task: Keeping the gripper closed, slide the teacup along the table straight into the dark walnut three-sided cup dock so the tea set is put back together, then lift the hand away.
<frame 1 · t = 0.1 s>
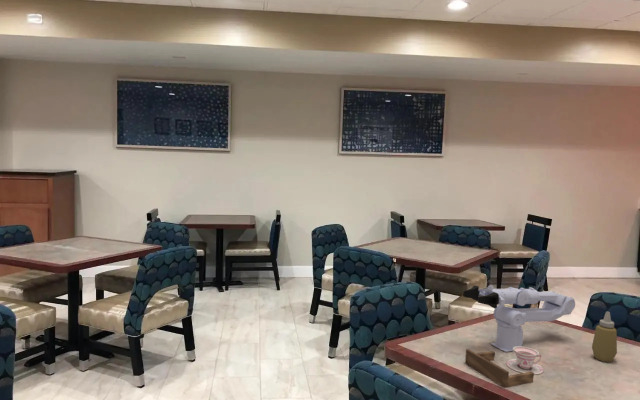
hand: (471, 296, 170), 22 cm above the table, tool horizontal, fingers open, 7 cm apart
squeeze bottle: (603, 359, 173), on the table
cup dock: (497, 372, 158), on the table
teacup: (524, 368, 163), on the table
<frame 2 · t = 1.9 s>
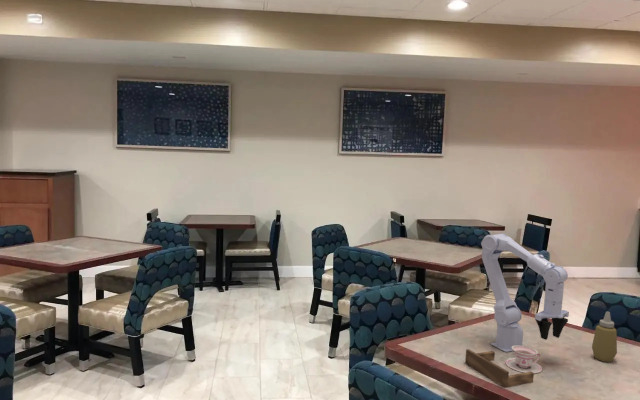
hand: (550, 337, 166), 9 cm above the table, tool pointing down, fingers open, 5 cm apart
nothing on the table moved.
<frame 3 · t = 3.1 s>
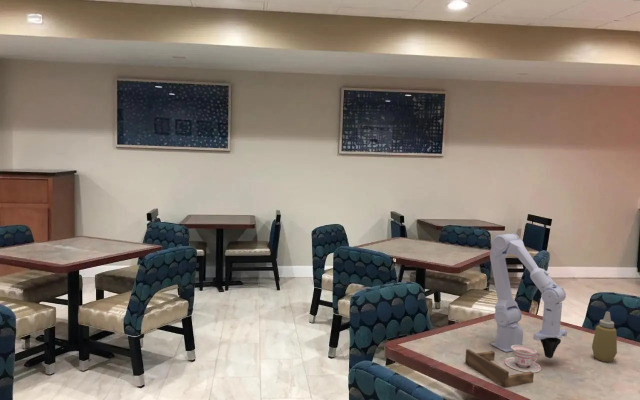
hand: (548, 357, 167), 2 cm above the table, tool pointing down, fingers closed
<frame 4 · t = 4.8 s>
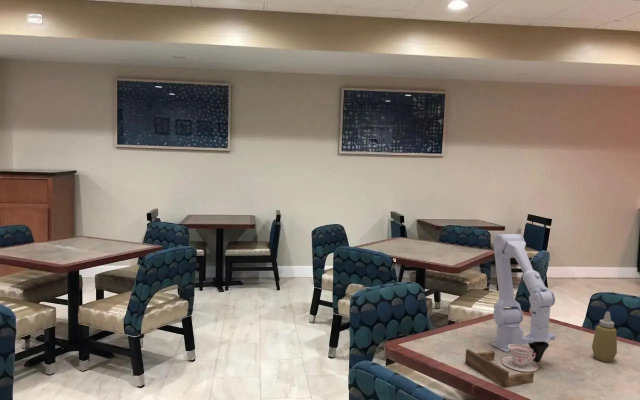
hand: (536, 361, 165), 1 cm above the table, tool pointing down, fingers closed
teacup: (519, 365, 164), on the table, touching gripper
everything else where it was.
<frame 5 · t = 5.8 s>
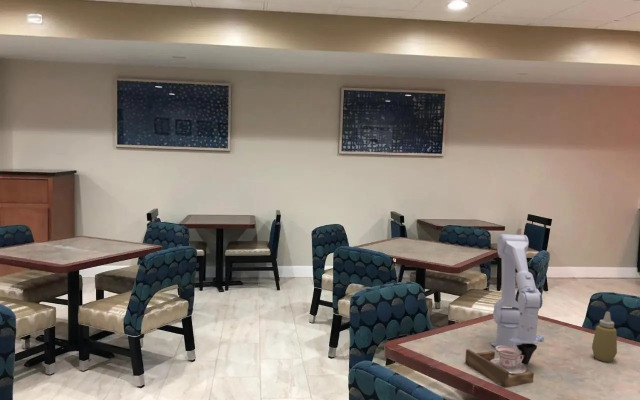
hand: (524, 363, 162), 1 cm above the table, tool pointing down, fingers closed
teacup: (507, 367, 162), on the table, touching cup dock, gripper
everything else where it was.
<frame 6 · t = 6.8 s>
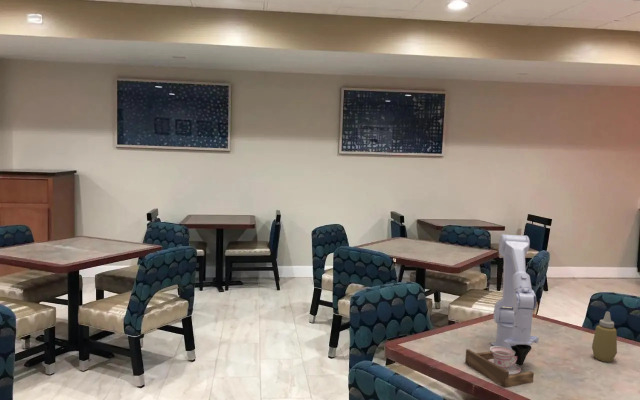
hand: (519, 364, 161), 1 cm above the table, tool pointing down, fingers closed
teacup: (501, 368, 161), on the table, touching cup dock, gripper
everything else where it was.
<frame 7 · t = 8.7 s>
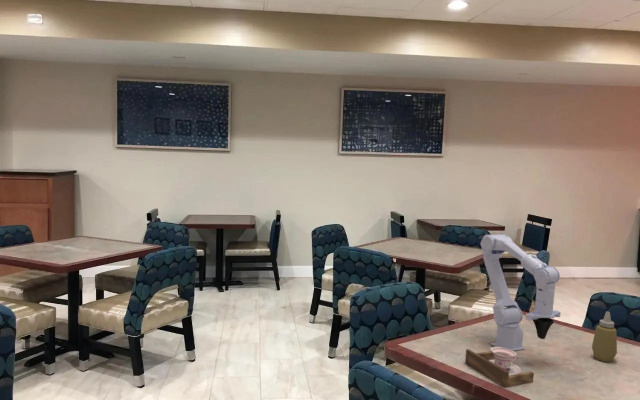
hand: (541, 338, 166), 9 cm above the table, tool pointing down, fingers closed
teacup: (502, 369, 161), on the table
everything else where it was.
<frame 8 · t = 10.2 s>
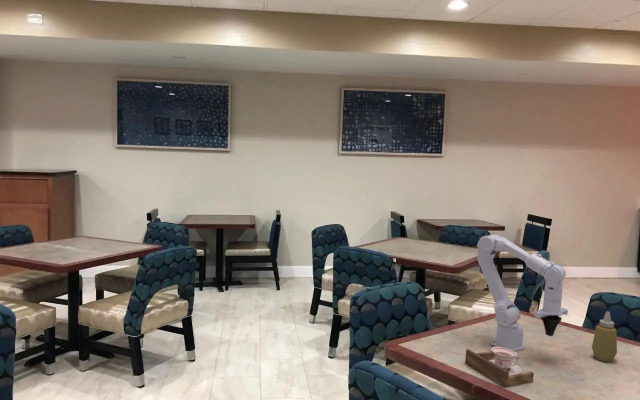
hand: (549, 335, 169), 9 cm above the table, tool pointing down, fingers closed
nothing on the table moved.
at the end: teacup inside the target area on the cup dock (4.3 cm from its centre), point 0.0 cm above the cup dock's base; teacup tilted 0°; teacup moved 8.5 cm from its start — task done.
